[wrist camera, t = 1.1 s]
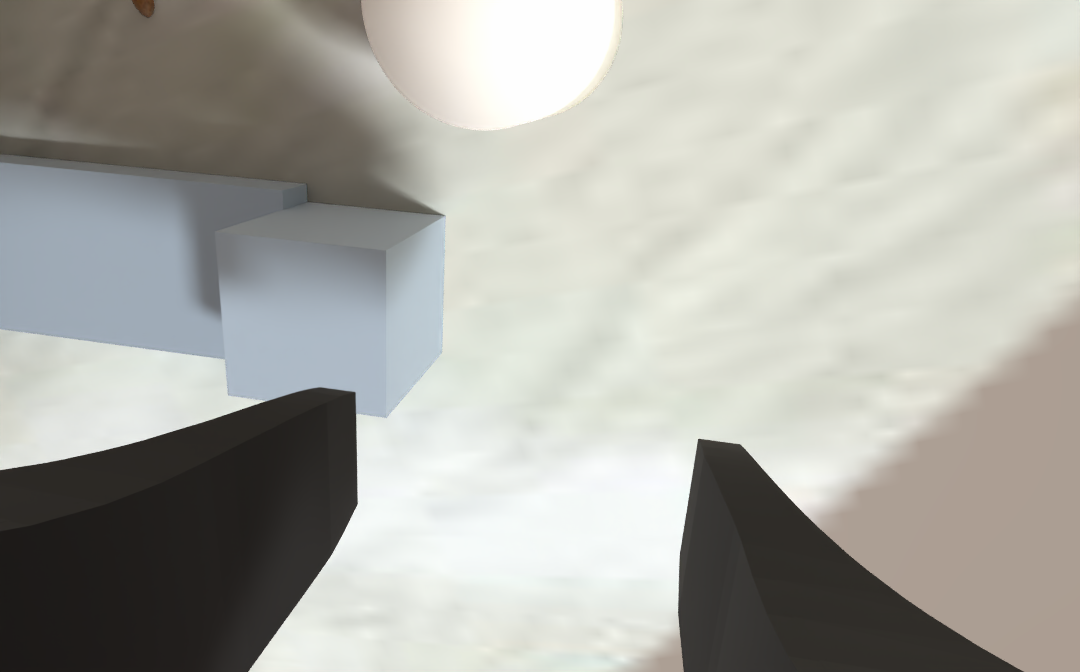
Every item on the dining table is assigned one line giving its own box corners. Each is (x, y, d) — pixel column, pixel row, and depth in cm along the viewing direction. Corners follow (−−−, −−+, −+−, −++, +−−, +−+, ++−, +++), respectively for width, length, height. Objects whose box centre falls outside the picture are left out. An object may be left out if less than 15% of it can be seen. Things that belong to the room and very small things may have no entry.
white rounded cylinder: (612, 126, 18) (593, 140, 14) (437, 111, 19) (362, 120, 14) (633, -81, 17) (619, -143, 12) (441, -89, 18) (358, -151, 13)
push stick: (441, 368, 21) (386, 436, 17) (-37, 305, 24) (-189, 353, 19) (446, 197, 20) (385, 227, 16) (-70, 146, 22) (-244, 161, 18)
